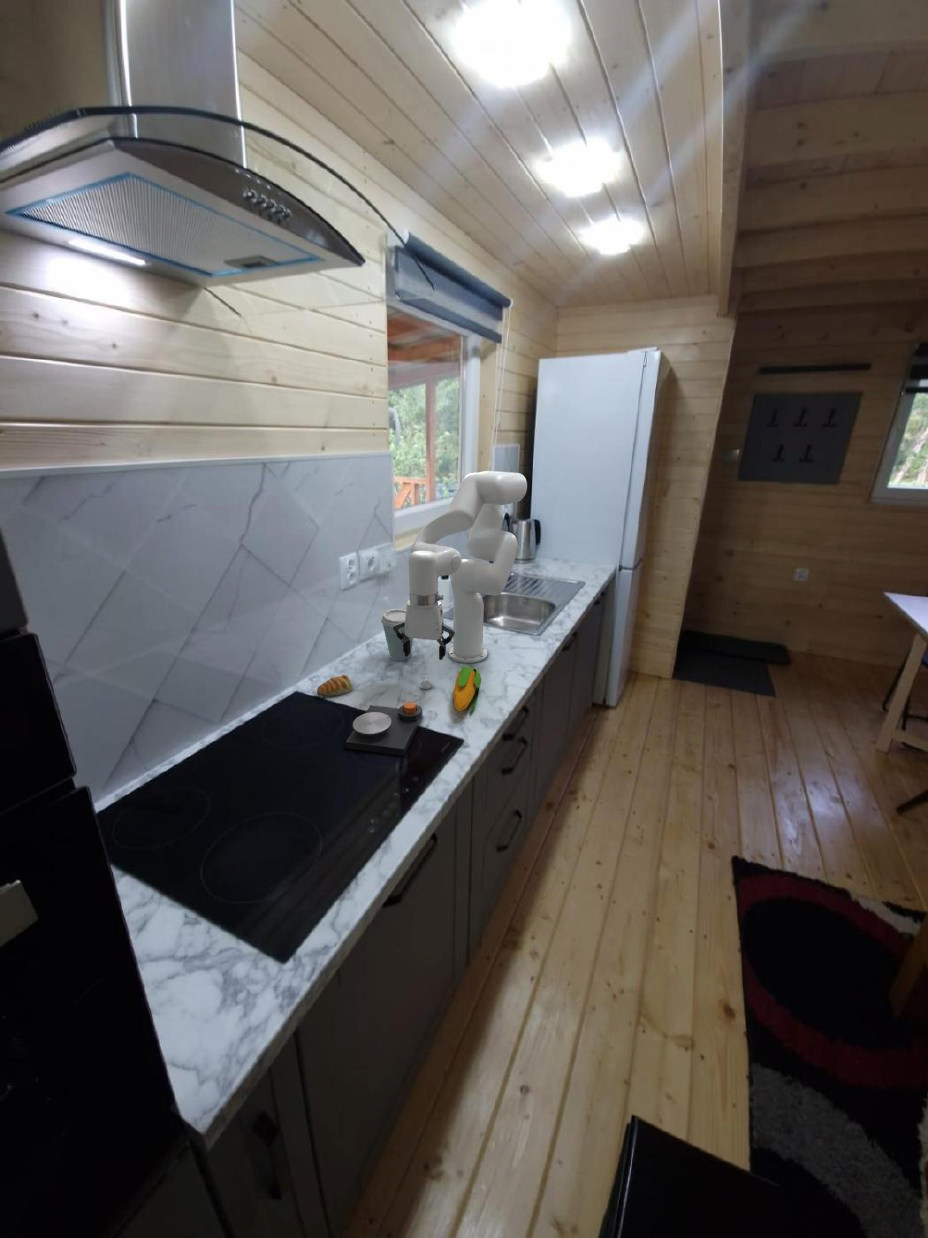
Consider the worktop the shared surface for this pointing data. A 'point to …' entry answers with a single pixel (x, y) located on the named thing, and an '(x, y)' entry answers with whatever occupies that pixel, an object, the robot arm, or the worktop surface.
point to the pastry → (335, 686)
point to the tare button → (409, 707)
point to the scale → (389, 732)
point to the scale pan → (372, 723)
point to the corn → (466, 688)
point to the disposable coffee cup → (393, 641)
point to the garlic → (426, 684)
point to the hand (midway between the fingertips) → (424, 656)
